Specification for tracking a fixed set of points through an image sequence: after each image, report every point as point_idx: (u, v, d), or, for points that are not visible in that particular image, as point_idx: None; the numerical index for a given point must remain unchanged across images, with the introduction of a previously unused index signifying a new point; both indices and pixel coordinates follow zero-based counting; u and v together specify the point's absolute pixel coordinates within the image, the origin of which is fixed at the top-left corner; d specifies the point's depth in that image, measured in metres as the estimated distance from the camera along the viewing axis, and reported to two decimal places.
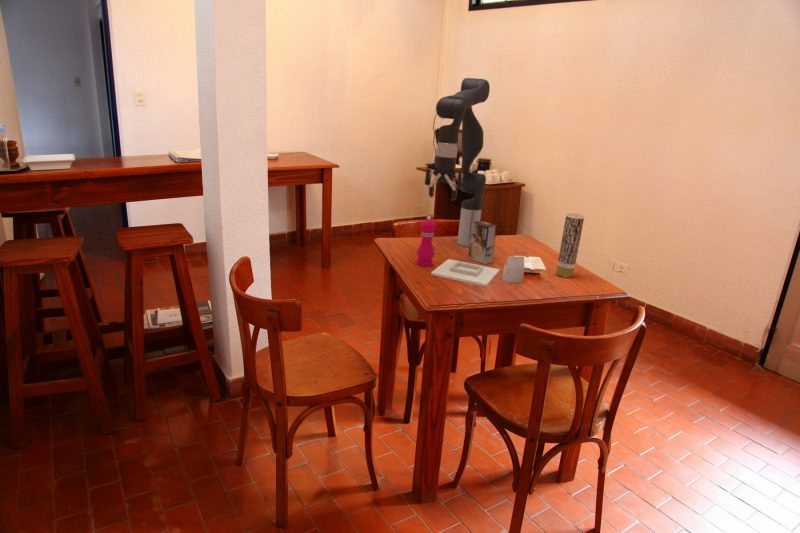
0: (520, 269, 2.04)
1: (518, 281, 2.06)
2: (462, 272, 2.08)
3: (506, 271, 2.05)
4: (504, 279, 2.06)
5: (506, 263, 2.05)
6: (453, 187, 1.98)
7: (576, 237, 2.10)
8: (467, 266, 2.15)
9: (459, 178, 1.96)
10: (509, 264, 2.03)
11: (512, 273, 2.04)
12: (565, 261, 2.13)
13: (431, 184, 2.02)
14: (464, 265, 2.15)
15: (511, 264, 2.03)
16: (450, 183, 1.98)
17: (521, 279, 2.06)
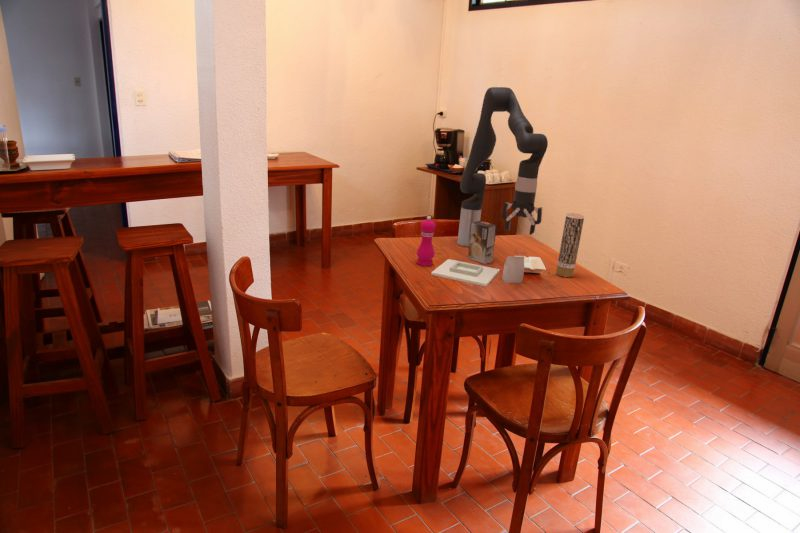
0: (520, 269, 2.04)
1: (518, 281, 2.06)
2: (462, 272, 2.08)
3: (506, 271, 2.05)
4: (504, 279, 2.06)
5: (506, 263, 2.05)
6: (532, 221, 1.97)
7: (576, 237, 2.10)
8: (467, 266, 2.15)
9: (539, 213, 1.95)
10: (509, 264, 2.03)
11: (512, 272, 2.04)
12: (565, 261, 2.13)
13: (508, 218, 2.00)
14: (464, 265, 2.15)
15: (511, 264, 2.03)
16: (529, 217, 1.96)
17: (521, 279, 2.06)
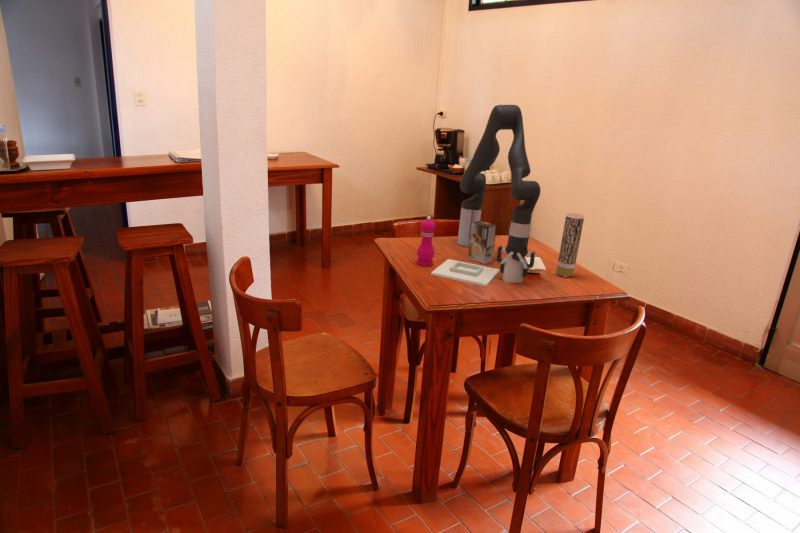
0: (520, 269, 2.04)
1: (518, 281, 2.06)
2: (462, 272, 2.08)
3: (506, 271, 2.05)
4: (504, 279, 2.06)
5: (506, 263, 2.05)
6: (525, 265, 2.02)
7: (576, 237, 2.10)
8: (467, 266, 2.15)
9: (532, 257, 2.00)
10: (509, 264, 2.03)
11: (512, 272, 2.04)
12: (565, 261, 2.13)
13: (503, 261, 2.05)
14: (464, 265, 2.15)
15: (512, 264, 2.03)
16: (522, 261, 2.02)
17: (521, 279, 2.06)
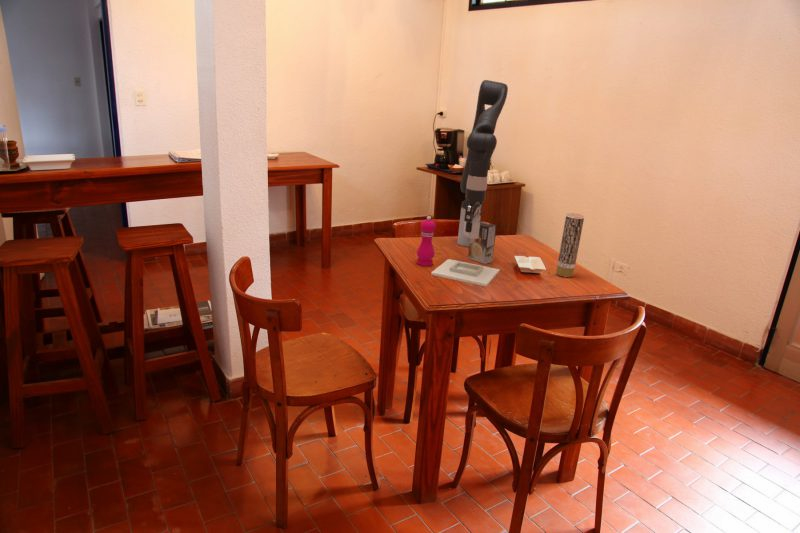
0: None
1: (467, 236, 2.05)
2: (462, 272, 2.08)
3: None
4: None
5: None
6: None
7: (576, 237, 2.10)
8: (467, 266, 2.15)
9: None
10: None
11: None
12: (565, 261, 2.13)
13: None
14: (464, 265, 2.15)
15: None
16: None
17: (469, 234, 2.04)
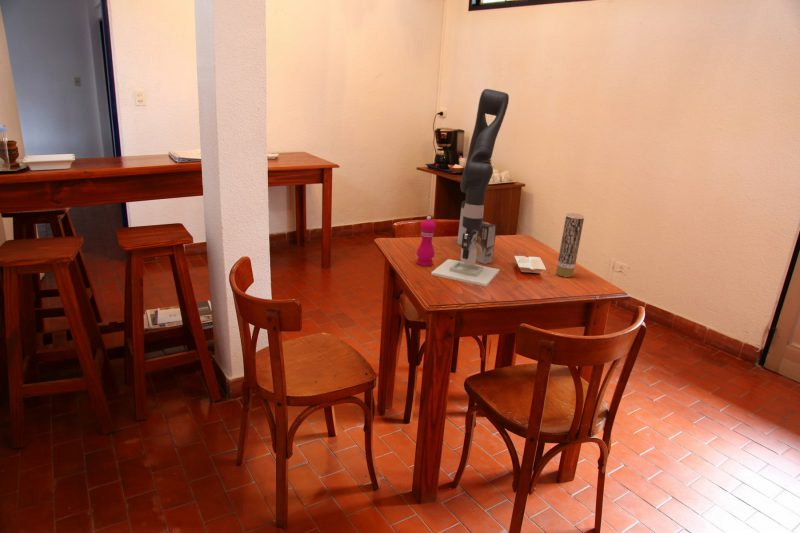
0: None
1: (464, 262, 2.08)
2: (462, 272, 2.08)
3: None
4: None
5: None
6: None
7: (576, 237, 2.10)
8: (467, 266, 2.15)
9: None
10: None
11: None
12: (565, 261, 2.13)
13: None
14: (464, 265, 2.15)
15: None
16: None
17: (466, 261, 2.07)
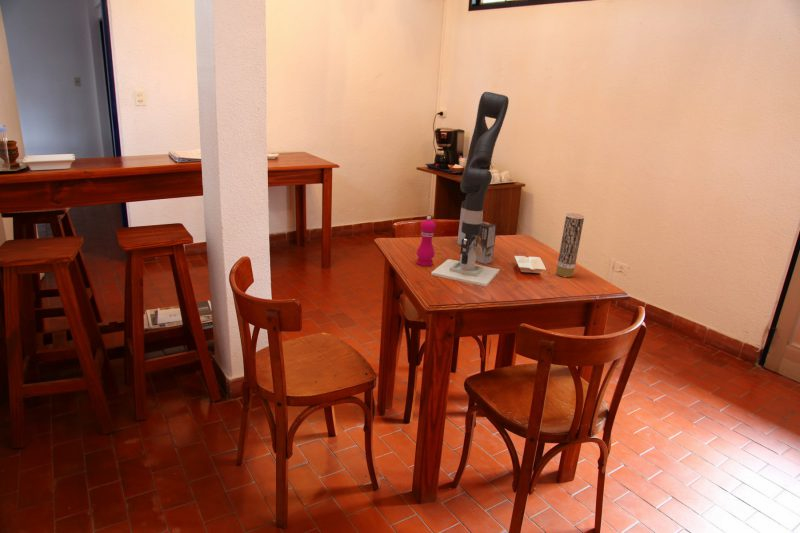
0: None
1: (464, 267, 2.09)
2: (462, 272, 2.08)
3: None
4: None
5: None
6: None
7: (576, 237, 2.10)
8: None
9: None
10: None
11: None
12: (565, 261, 2.13)
13: None
14: None
15: None
16: None
17: (465, 266, 2.08)
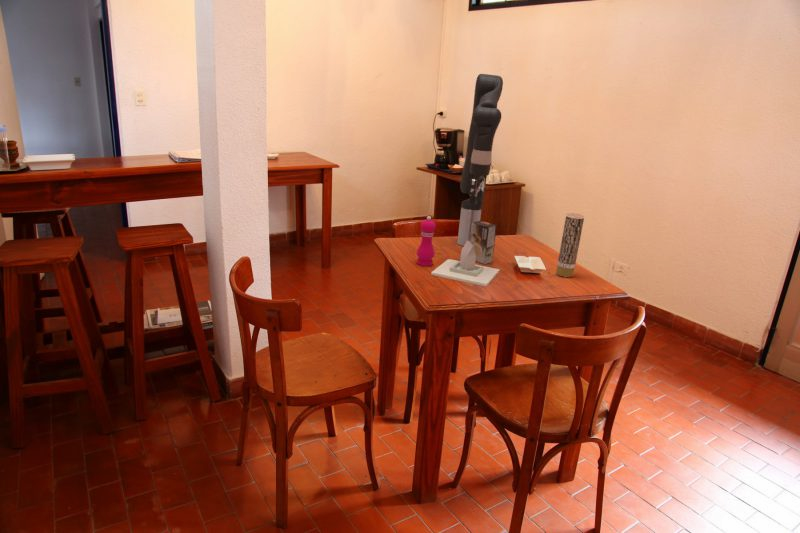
0: (465, 255, 2.08)
1: (464, 267, 2.09)
2: (462, 272, 2.08)
3: None
4: None
5: None
6: None
7: (576, 237, 2.10)
8: None
9: None
10: (463, 247, 2.11)
11: (462, 256, 2.11)
12: (565, 261, 2.13)
13: None
14: None
15: (464, 248, 2.10)
16: None
17: (465, 266, 2.08)
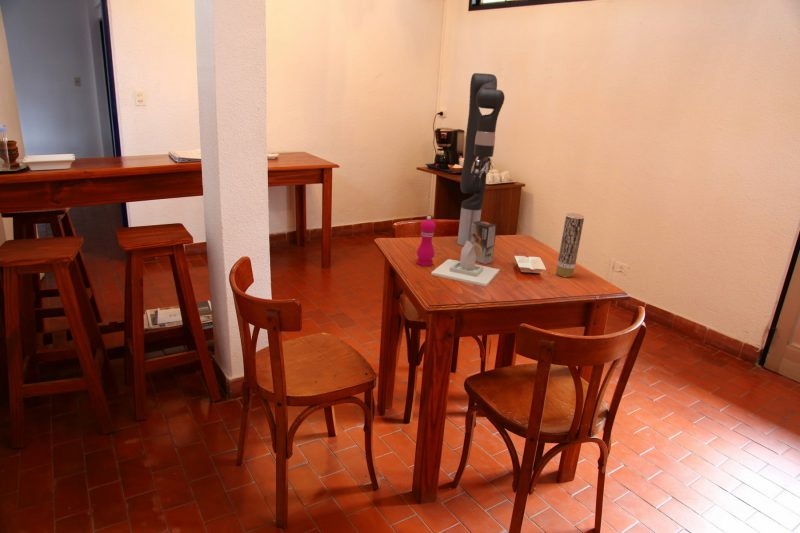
0: (465, 255, 2.08)
1: (464, 267, 2.09)
2: (462, 272, 2.08)
3: None
4: None
5: None
6: None
7: (576, 237, 2.10)
8: None
9: None
10: (463, 247, 2.11)
11: (462, 256, 2.11)
12: (565, 261, 2.13)
13: None
14: None
15: (464, 248, 2.10)
16: None
17: (465, 266, 2.08)
